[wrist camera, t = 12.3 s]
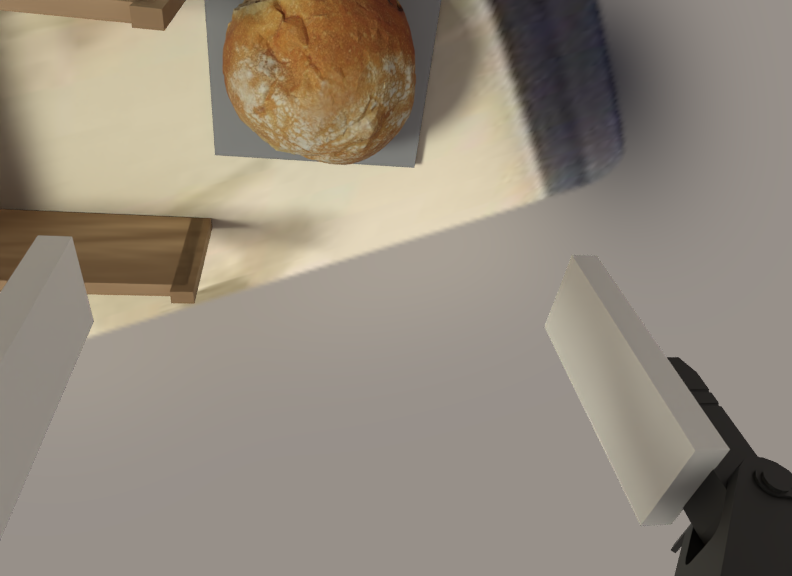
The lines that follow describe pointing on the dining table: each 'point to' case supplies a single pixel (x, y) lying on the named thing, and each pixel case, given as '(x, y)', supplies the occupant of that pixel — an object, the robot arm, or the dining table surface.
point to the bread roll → (321, 75)
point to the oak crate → (113, 233)
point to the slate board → (243, 142)
